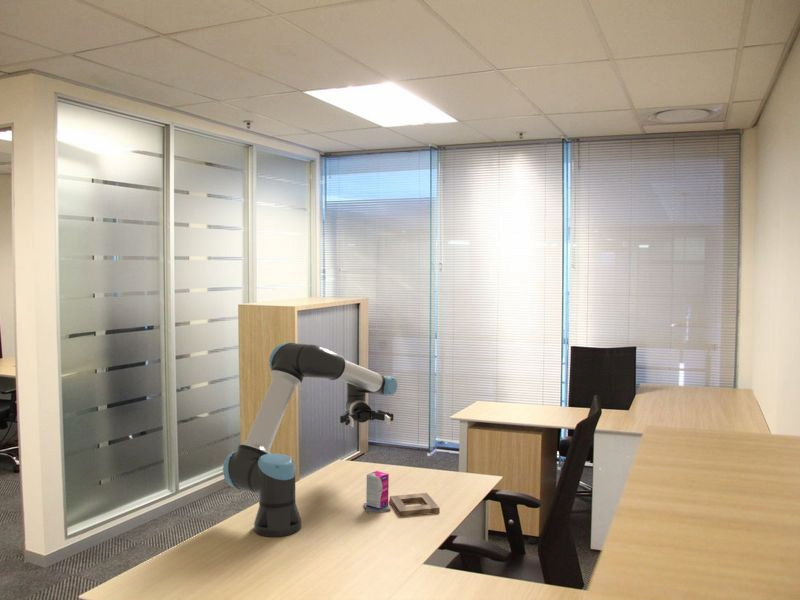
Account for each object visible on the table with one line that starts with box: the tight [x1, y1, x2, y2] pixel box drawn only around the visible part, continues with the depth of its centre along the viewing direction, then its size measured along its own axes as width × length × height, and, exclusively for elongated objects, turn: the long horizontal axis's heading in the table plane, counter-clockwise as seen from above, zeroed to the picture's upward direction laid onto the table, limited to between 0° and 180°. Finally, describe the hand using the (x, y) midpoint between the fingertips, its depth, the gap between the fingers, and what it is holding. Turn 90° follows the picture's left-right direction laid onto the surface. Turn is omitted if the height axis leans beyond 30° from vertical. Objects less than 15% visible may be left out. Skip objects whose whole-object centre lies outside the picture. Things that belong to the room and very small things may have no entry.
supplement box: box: [365, 470, 390, 509], centre depth 245 cm, size 6×6×12 cm
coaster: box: [363, 502, 391, 514], centre depth 245 cm, size 8×8×1 cm
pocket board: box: [389, 492, 440, 517], centre depth 246 cm, size 14×16×2 cm
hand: (371, 422), depth 253 cm, fingers open, 13 cm apart
